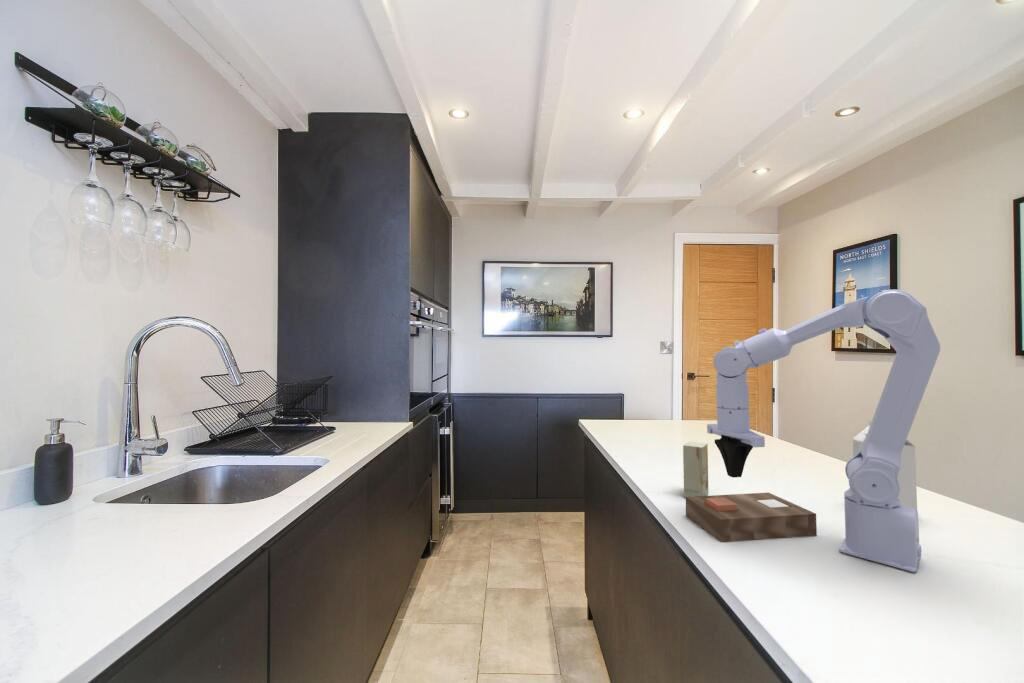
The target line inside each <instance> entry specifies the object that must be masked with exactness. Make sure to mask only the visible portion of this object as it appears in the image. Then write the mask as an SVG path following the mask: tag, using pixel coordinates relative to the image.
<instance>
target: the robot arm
mask: <svg viewBox="0 0 1024 683" xmlns="http://www.w3.org/2000/svg"><path fill="white" fill-rule="evenodd" d="M868 298H869V296H865V297H861V298H858V299H855V300H852V301H849V302H845V303H843V304H841V305H837V306H836V307H834V308H831V309H829V310H827V311H825V312H822V313H820V314H817V315H815V316H813V317H812V318H809V319H807V320H806V321H802V322H801V323H799V324H796V325H793V326H791V327H790V328H788V329H785V330H781V329H778V328H774V327H772V328H770V329H768V330H767V328H762V329H760V330H759V329H758V334H756V335H753V336H752V337H749V338H747V339H744V340H742V341H740V340H736V341H734V342H733V344H734V346H725V347H723V348H722V349H720V350H719V351H717V352H716V353H715V356H714V357H713V366H714V369H715V371H716V385H715V387H716V388H715V389H716V419H717V420H716V423H707V424H706V430H707V431H706V432H707V434H710V435H711V434H713V435H717V436H720V438H718V439H717V438H715V439H714V445H716V447H717V449H718V450H719V453H720V455H721V458H722V459H723V464H724V466H725V470H726V474H727V477H728V476H729V477H730V478H742V475H743V473H744V472H743V471H744V467H745V465H746V462H747V459H748V456H749V455H750V453H751V451H752V449H753V448H765V447H766V444H765V441H766V440H765V436H764V435H761V434H758V433H756V432H755V431H752V430H751V425H750V423H751V422H750V398H749V397H750V396H749V393H750V392H749V384H748V372H747V371H748V370H749V368H752V369H757V368H759V367H762V366H765V365H767V364H769V363H772V362H775V361H777V360H779V359H782V358H785V357H788V356H789V355H790V353H791V351H792V348H793V346H795V345H797V344H800V343H803V342H805V341H808V340H810V339H814V338H816V337H818V336H821V335H824V334H827V333H829V332H832V331H835V330H838V329H840V328H855V329H856V328H861V327H864V326H865V325H866V327H867V328H870V329H871V330H873V331H874V332H875V333H876V334H879V335H881V336H882V337H883V338H884V340H886V341H887V343H888V344H889V345H890V346H891V347H892V348H893V350H894V351H895V352H896V354H895V357H894V360H893V362H892V365H891V368H890V371H889V373H888V375H887V379H886V382H885V384H884V387H883V389H882V393H881V395H880V397H879V401H878V403H877V406H876V407H875V408H876V409H875V411H874V414H873V417H872V419H871V421H872V422H871V425H870V428H869V430H868V433H867V436H866V438H865V440H864V441H863V443H862V444H861V446H860V449H859V451H858V453H857V454H856V455H855V456H854V457H853V456H852V457H851V458H850V459H849V460H848V461H847V462H846V463H845V464H846V465H845V467H844V468H845V476H846V477H847V479H848V485H849V488H848V489H847V490H846V491H844V493H843V495H844V497H843V498H844V526H845V528H844V529H845V530H844V531H845V539H844V540H843V542H842V543H841V545H840V546H839V548H838V551H839V552H840V553H843V554H847V555H849V556H853V557H857V558H861V559H864V560H869V561H871V562H876V563H879V564H883V565H886V566H890V567H893V568H897V569H901V570H904V571H908V572H911V573H917V571H918V568H919V563H920V559H921V558H922V545H921V544H920V525H919V522H920V521H919V520H920V519H919V511H918V508H917V509H914V508H910V507H906V506H903V505H901V504H900V501H899V499H898V498H897V497H898V496H899V493H900V485H899V482H898V473H899V470H900V466H901V453H902V450H903V447H904V444H905V442H906V439H907V440H908V436H909V433H910V432H911V430H912V425H913V424H914V421H915V417H916V415H917V412H918V410H919V408H920V405H921V402H922V399H923V397H924V394H925V391H926V389H927V386H928V383H929V381H930V379H931V377H932V376H931V375H932V373H933V370H934V368H935V365H936V362H937V359H938V357H939V355H940V352H941V343H940V341H939V339H938V337H937V335H936V333H935V330H934V328H933V326H932V323H931V321H930V318H929V315H928V311H927V310H928V309H927V307H925V306H924V305H923V303H921V302H920V301H919V300H918V299H916V297H914V296H913V295H912V294H910V293H909V292H907V291H905V290H902V289H901V290H900V289H887V290H886V289H885V290H883V291H879V292H878V293H876V294H874V295H873V296H871V298H870V299H869V300H867V299H868ZM866 300H867V301H866Z"/></svg>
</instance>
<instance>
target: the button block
mask: <svg viewBox="0 0 1024 683" xmlns="http://www.w3.org/2000/svg"><path fill="white" fill-rule="evenodd" d="M720 497H725V498H726V499H728V500H730V501H732V502H734V503H736V504H737V510H733V511H716V510H714V509H713V508H711V507H709V506H708V505H706V498H720ZM771 499H774V500H777V501H779V502H781V503H783V504H785V505H787V506H789V507H784V508H769V507H767V506H765V505H763V504H761V503H759V502H757V501H756V500H771ZM685 517H686V518H688V519H689V520H691V522H693V523H695V524H696V525H697V526H699V527H700V528H702V529H703V530H705V532H707V533H708V534H710V535H711V536H713V537H714V538H715V539H717V540H718V541H720V542H721V543H728V542H729V543H730V542H742V541H757V540H758V541H759V540H772V539H785V538H786V539H787V538H788V539H789V538H800V537H801V538H803V537H814V536H817V534H818V532H817V527H818V526H817V513H815V512H813V511H811V510H809V509H808V508H807V509H806V508H804V507H802V506H800V505H797V504H795V503H793V502H791V501H788V500H786V499H784V498H782V497H779V496H777V495H775V494H773V493H771V492H756V493H754V492H753V493H735V494H733V493H732V494H719V495H717V494H716V495H714V494H713V495H707V496H694V497H685Z"/></svg>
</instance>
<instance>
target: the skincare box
mask: <svg viewBox="0 0 1024 683" xmlns="http://www.w3.org/2000/svg"><path fill="white" fill-rule="evenodd" d="M708 452H709V451H708V443H705V442H700V441H699V442H698V441H697V442H695V441H688V442H686V443H685V444H683V446H682V455H683V457H682V460H683V461H682V462H683V497H684V498H686V497H694V496H709V494H710V492H709V457H708V456H709V453H708Z"/></svg>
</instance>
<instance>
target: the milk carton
mask: <svg viewBox="0 0 1024 683" xmlns="http://www.w3.org/2000/svg"><path fill="white" fill-rule="evenodd" d="M871 422H872V420H868V426H866V427H865V428H864V429H863V430H862V431H860V432H859V433H858V434H857V435H855V436H854V437H853V438H852V449H853V450H852V452H853V453H852V454H853V456H852V458H853V457H854V456H855V455H856V454H857V453H858V451H859V449H860V446H861V444H862V443H863V441H864V440H865V438H866V436H867V433H868V430H869V428H870V425H871ZM916 465H917V464H916V446H915V444H913V443H911V442H910V441H909V440H908V438H907V439H906V442H905V444H904V447H903V450H902V453H901V466H900V470H899V473H898V482H899V485H900V493H899V496H898V497H897V498H898V499H899V501H900V504H901V505H903V506H906V507H910V508H914V509H917V510H918V495H917V490H918V488H917V468H916V467H917V466H916Z"/></svg>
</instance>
